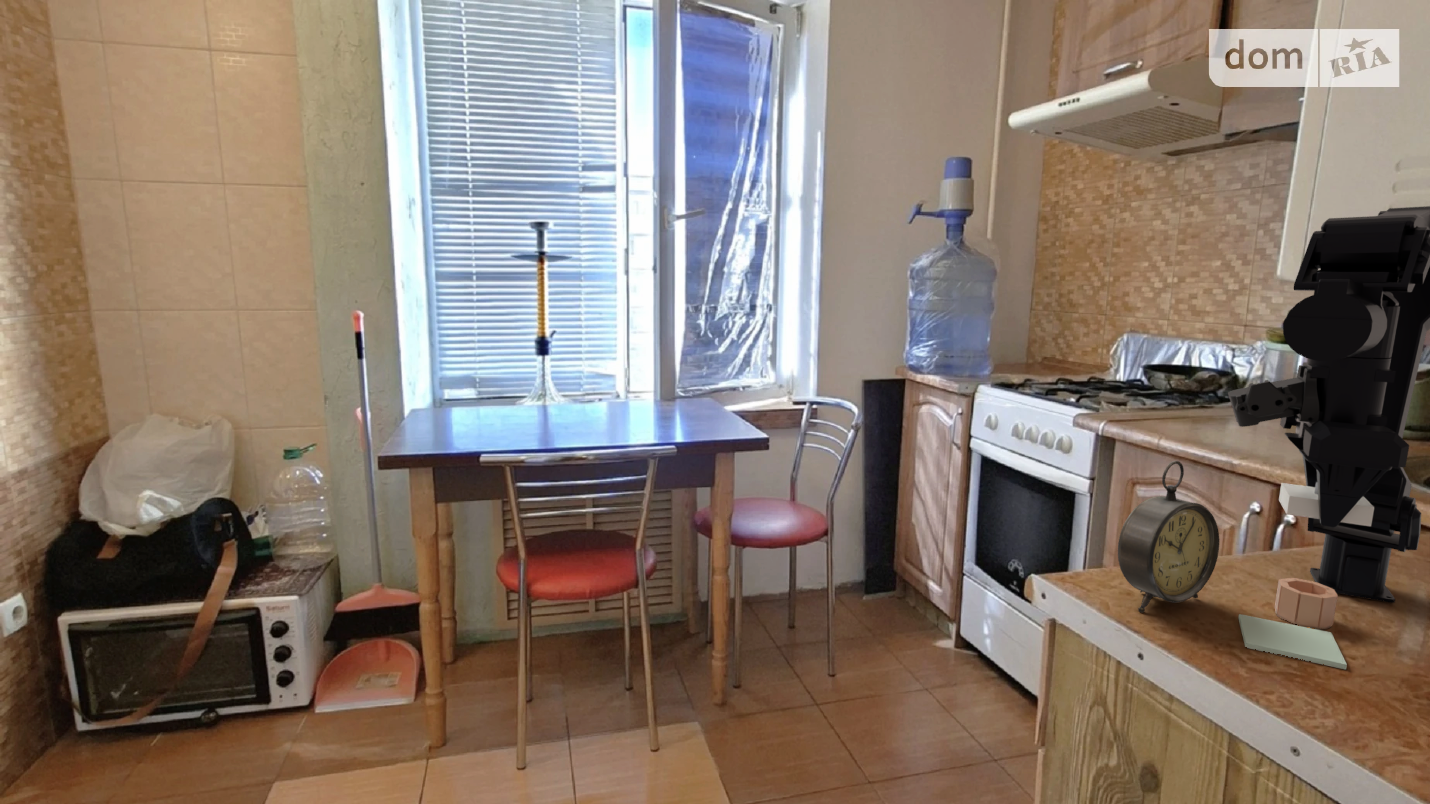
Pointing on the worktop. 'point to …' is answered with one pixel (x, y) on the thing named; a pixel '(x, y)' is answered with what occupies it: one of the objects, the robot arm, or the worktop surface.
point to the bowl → (1306, 603)
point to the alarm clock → (1168, 546)
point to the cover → (1307, 504)
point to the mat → (1291, 641)
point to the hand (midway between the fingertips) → (1321, 517)
